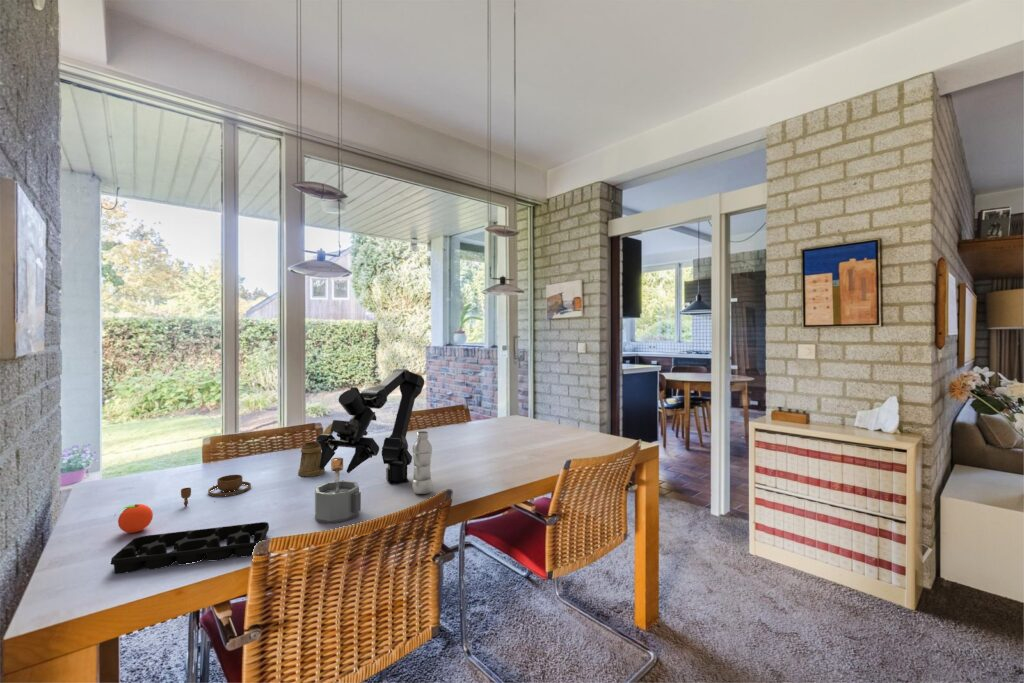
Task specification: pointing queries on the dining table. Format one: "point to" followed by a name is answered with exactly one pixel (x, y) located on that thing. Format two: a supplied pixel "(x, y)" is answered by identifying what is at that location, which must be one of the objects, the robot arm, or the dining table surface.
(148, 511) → the clementine
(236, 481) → the place setting
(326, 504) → the press jug
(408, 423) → the robot arm
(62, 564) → the dining table surface
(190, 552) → the egg carton
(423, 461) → the plastic bottle
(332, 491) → the plunger
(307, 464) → the wooden mug
